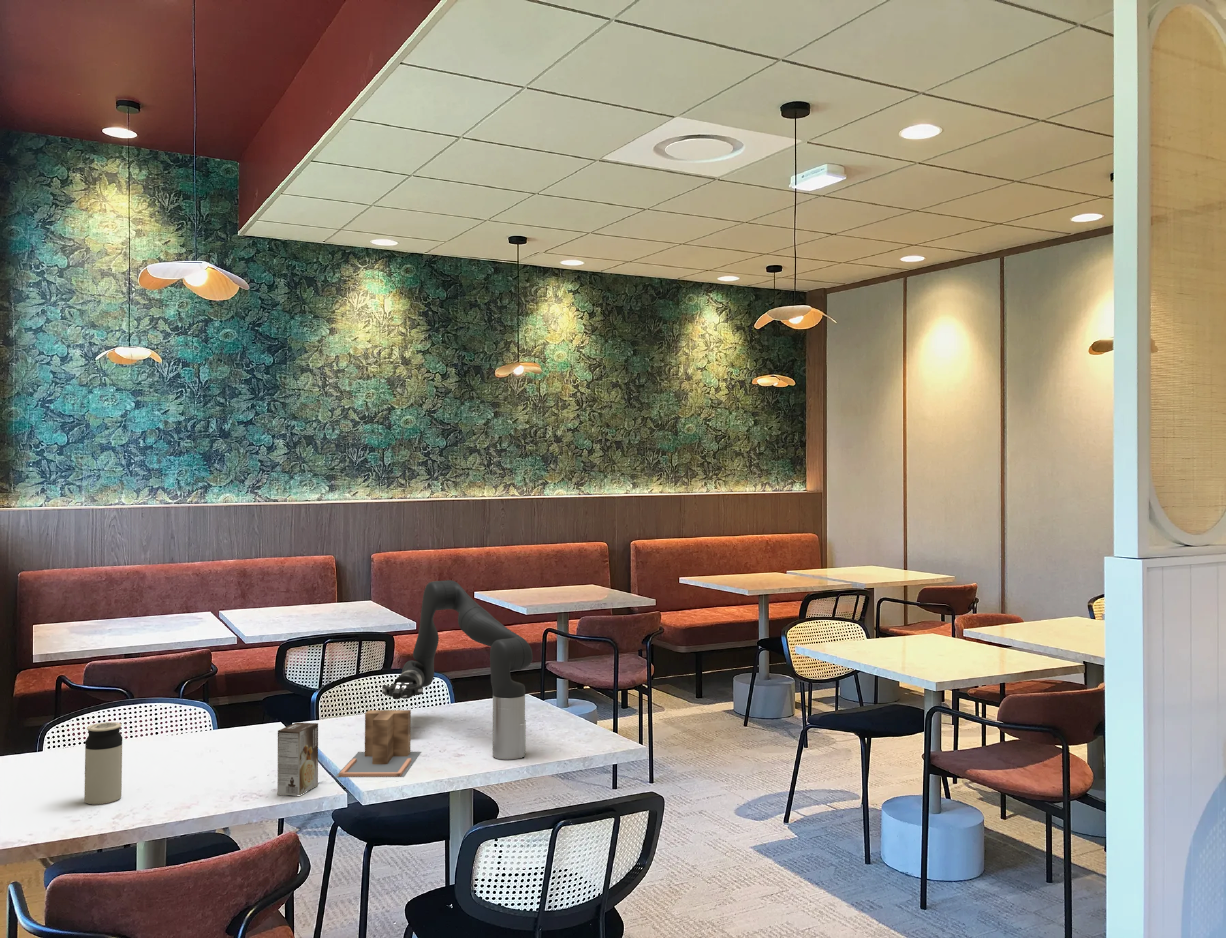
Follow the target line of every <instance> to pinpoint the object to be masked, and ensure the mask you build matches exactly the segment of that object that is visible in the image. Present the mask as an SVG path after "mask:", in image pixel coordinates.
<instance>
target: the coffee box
mask: <svg viewBox="0 0 1226 938" xmlns="http://www.w3.org/2000/svg"><path fill="white" fill-rule="evenodd" d="M317 785H318V786H319V723H318V722H317V723H316V722H295V723H292V724H290V725H287V726H285V727H283V728H281V729H279V730H277V789H276V791H277V796H284V795H301V794H303V793H305V792H306V791H308V790H310V789H311V790H312V788H313V789H314V787H315V788H316V787H318V786H317ZM311 790H310V791H311ZM308 792H309V791H308ZM306 793H307V792H306ZM306 793H305V794H306ZM303 795H304V794H303ZM301 796H302V795H301Z"/></svg>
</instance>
